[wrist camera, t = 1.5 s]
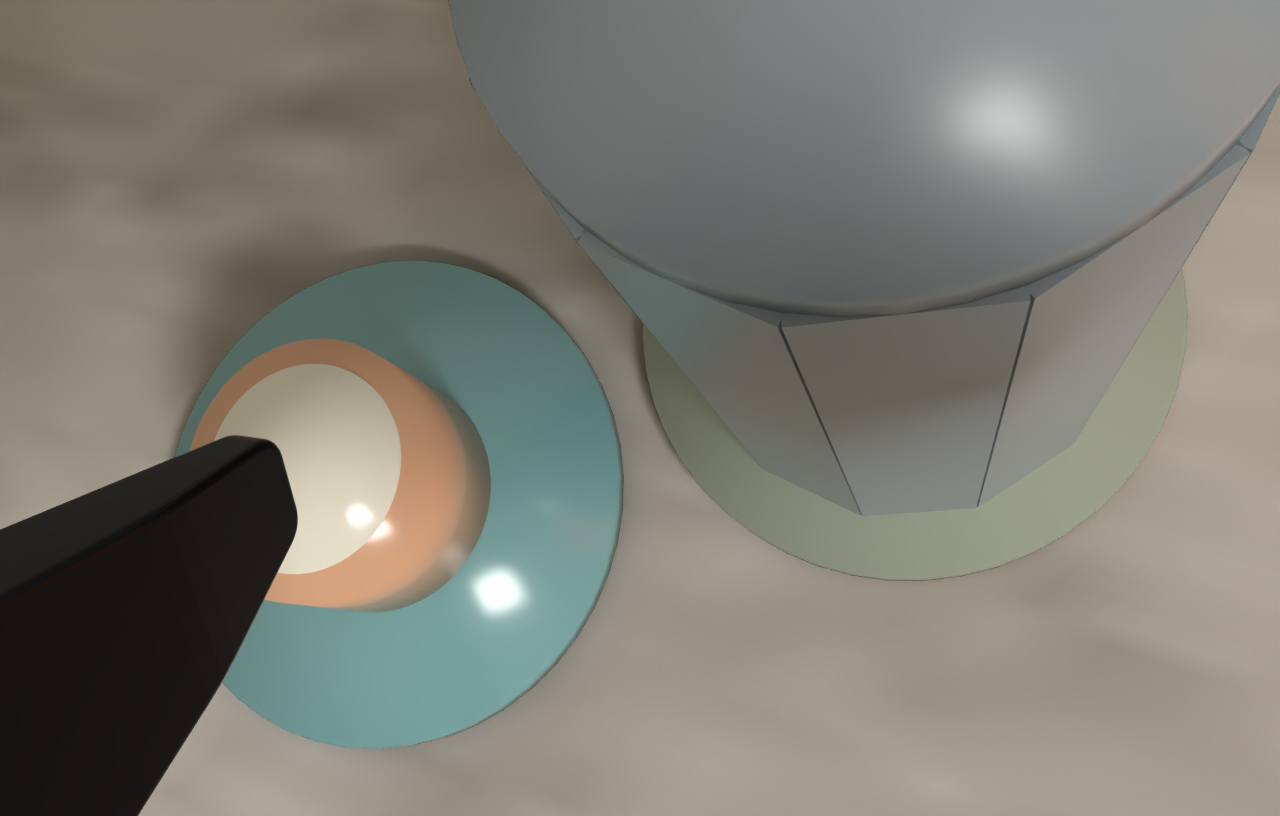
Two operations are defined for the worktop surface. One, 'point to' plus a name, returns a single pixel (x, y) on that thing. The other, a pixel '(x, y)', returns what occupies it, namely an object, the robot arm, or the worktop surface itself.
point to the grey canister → (885, 205)
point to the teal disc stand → (418, 500)
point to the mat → (948, 536)
